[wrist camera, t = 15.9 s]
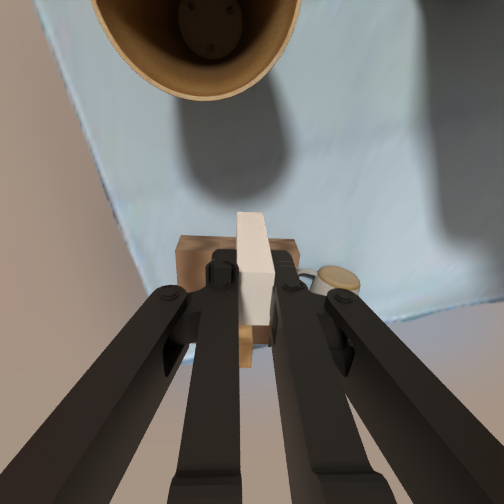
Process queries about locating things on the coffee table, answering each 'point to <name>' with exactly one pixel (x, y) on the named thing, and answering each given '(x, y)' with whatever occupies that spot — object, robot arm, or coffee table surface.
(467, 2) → the coffee table surface
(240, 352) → the oak peg
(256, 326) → the walnut socket block
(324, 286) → the ceramic mug
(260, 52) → the plant pot
